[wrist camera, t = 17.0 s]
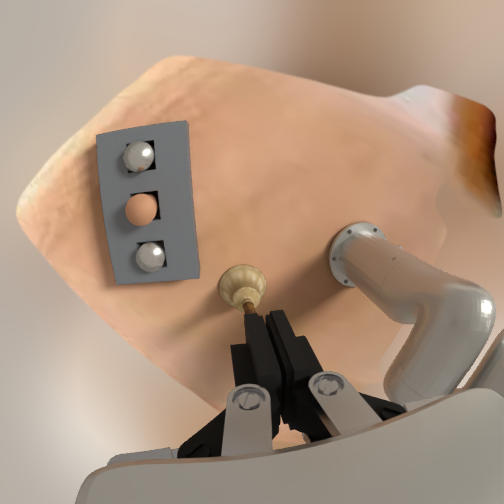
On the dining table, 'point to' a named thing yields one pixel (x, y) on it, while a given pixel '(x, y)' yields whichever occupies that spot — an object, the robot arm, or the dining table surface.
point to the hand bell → (242, 287)
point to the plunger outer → (139, 156)
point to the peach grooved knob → (141, 209)
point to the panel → (170, 202)
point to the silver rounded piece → (151, 256)
